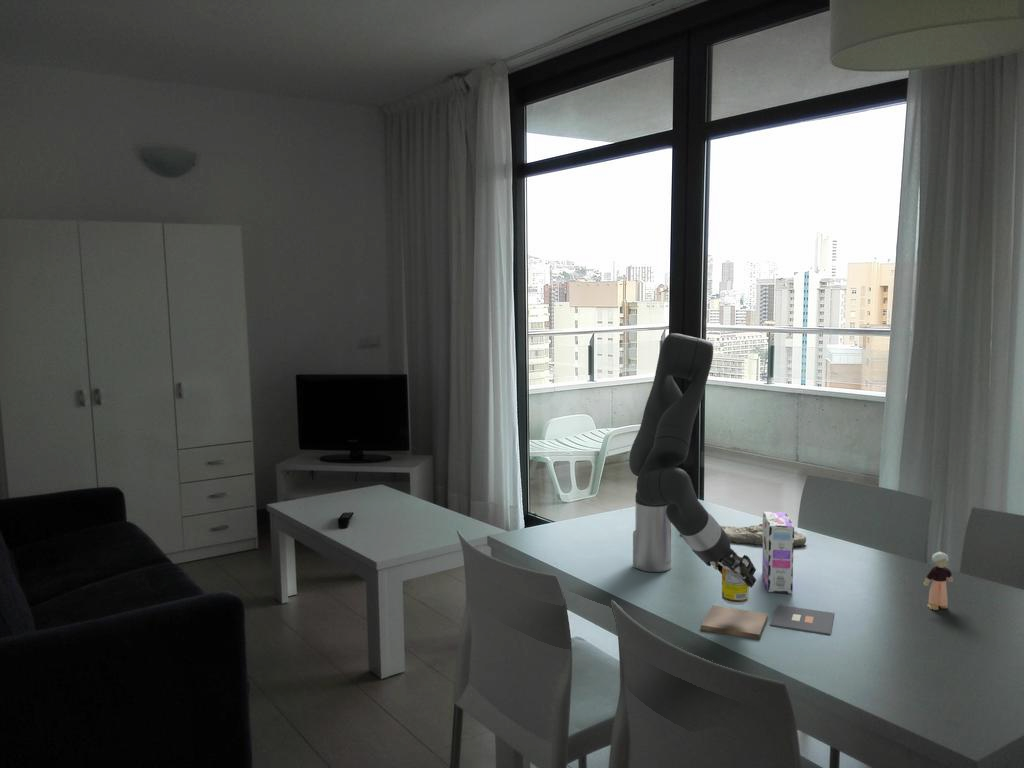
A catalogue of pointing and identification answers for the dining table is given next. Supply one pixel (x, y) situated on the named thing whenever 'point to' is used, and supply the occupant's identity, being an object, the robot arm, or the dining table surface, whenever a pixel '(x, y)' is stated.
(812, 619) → the tile
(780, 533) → the candy box
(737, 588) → the supplement bottle
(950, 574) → the grandmother figurine
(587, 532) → the dining table surface
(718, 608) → the walnut board
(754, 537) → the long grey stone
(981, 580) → the dining table surface
